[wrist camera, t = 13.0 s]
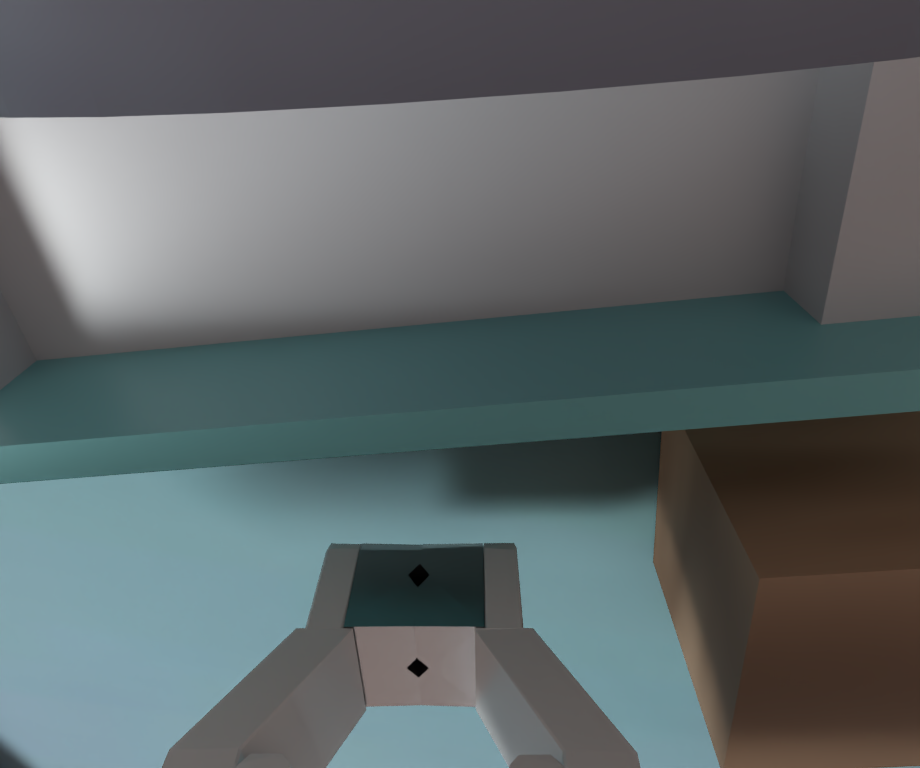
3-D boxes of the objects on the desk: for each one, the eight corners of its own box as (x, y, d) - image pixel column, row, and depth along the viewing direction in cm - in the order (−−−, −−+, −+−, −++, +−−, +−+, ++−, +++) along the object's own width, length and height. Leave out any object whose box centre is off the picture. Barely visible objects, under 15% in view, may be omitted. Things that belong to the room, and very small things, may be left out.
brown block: (863, 548, 12) (1019, 762, 9) (652, 561, 12) (721, 773, 9) (917, 369, 10) (1148, 554, 7) (664, 389, 10) (760, 579, 7)
